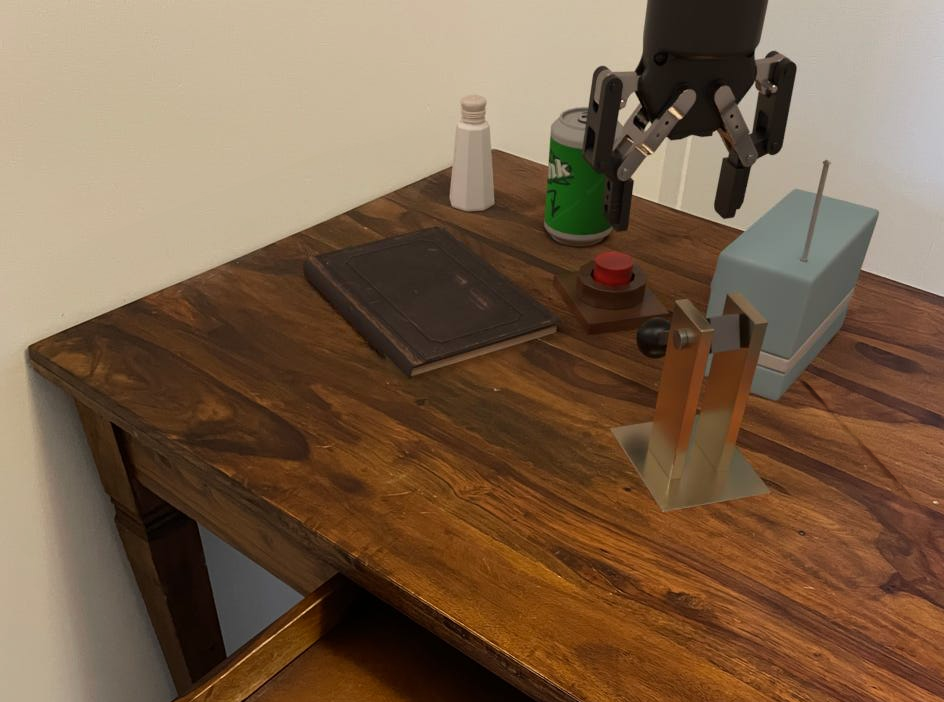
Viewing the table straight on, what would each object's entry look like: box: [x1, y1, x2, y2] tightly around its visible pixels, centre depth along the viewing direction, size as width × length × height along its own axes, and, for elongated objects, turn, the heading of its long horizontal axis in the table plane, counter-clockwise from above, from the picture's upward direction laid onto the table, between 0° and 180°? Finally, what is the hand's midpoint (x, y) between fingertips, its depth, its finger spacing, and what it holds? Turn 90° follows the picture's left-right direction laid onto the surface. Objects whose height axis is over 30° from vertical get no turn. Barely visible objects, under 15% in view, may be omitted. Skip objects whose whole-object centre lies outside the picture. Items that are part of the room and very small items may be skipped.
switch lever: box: [635, 314, 740, 360], centre depth 72 cm, size 13×3×3 cm
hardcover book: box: [302, 224, 563, 380], centre depth 92 cm, size 16×23×2 cm
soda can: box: [543, 106, 624, 247], centre depth 100 cm, size 8×8×12 cm
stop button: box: [593, 251, 634, 286], centre depth 89 cm, size 4×4×2 cm
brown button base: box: [552, 259, 670, 336], centre depth 91 cm, size 10×8×4 cm
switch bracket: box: [609, 292, 772, 513], centre depth 71 cm, size 11×9×14 cm
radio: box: [704, 159, 880, 402], centre depth 80 cm, size 16×9×20 cm, turn 145°
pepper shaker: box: [448, 94, 496, 213], centre depth 106 cm, size 5×5×11 cm
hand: (671, 220), depth 70 cm, fingers open, 8 cm apart
